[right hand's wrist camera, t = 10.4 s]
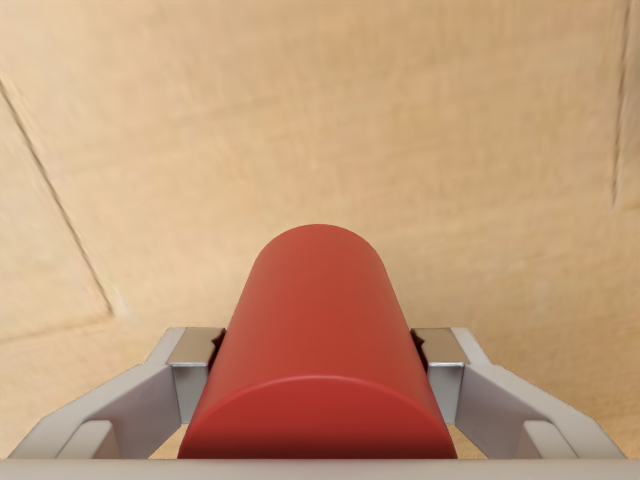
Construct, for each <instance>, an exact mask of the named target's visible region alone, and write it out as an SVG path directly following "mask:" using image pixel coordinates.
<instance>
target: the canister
mask: <svg viewBox="0 0 640 480" xmlns="http://www.w3.org/2000/svg"><path fill="white" fill-rule="evenodd" d="M177 459H458V457H457V454H456V451H455V447H454V444H453V442H452V439H451V436H450V434H449V431H448V429H447V426H446V424H445V421H444V418H443V416H442V413H441V411H440V408H439V406H438V403H437V400H436V398H435V395H434V393H433V390H432V388H431V385H430V382H429V380H428V377H427V375H426V372H425V370H424V367H423V364H422V362H421V359H420V357H419V354H418V352H417V349H416V346H415V344H414V341H413V339H412V336H411V334H410V331H409V329H408V326H407V323H406V321H405V318H404V316H403V313H402V311H401V308H400V305H399V303H398V300H397V298H396V295H395V293H394V290H393V287H392V285H391V282H390V280H389V277H388V275H387V272H386V269H385V267H384V264H383V262H382V260H381V258H380V257H379V255H378V254H377V252H376V251H375V250H374V248H373V247H372V246H371V245H370V244H369V243H368V242H367V241H365V240H364V239H363V238H362V237H360V236H358V235H357V234H355V233H353V232H351V231H349V230H347V229H344V228H341V227H337V226H332V225H326V224H312V225H304V226H300V227H296V228H293V229H290V230H288V231H286V232H284V233H282V234H280V235H279V236H277V237H276V238H274V239H273V240H272V241H271V242H269V243H268V244H267V245H266V246H265V247H264V249H263V250H262V251H261V252H260V254H259V255H258V257H257V258H256V260H255V263H254V265H253V267H252V270H251V272H250V275H249V277H248V279H247V282H246V284H245V287H244V289H243V292H242V294H241V297H240V299H239V302H238V304H237V307H236V309H235V312H234V314H233V317H232V319H231V322H230V324H229V327H228V329H227V332H226V334H225V337H224V339H223V341H222V344H221V346H220V349H219V351H218V354H217V356H216V359H215V361H214V364H213V366H212V369H211V371H210V374H209V376H208V379H207V381H206V384H205V386H204V389H203V391H202V394H201V396H200V399H199V401H198V403H197V406H196V408H195V411H194V413H193V416H192V418H191V421H190V423H189V426H188V428H187V431H186V433H185V436H184V438H183V441H182V443H181V446H180V448H179V452H178V456H177Z"/></svg>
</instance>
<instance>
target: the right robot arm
mask: <svg viewBox="0 0 640 480" xmlns="http://www.w3.org/2000/svg"><path fill="white" fill-rule="evenodd" d="M226 332H227V331H226V329H225V328H204V327H189V328H188V327H171V328H168V329H167V330H166V332H165V333H164V335H163V336H162V338H161V339H160V341H159V342H158V344H157V345H156V347H155V348H154V350H153V351H152V353H151V354H150V356H149V357H148V358H147V360H146V361H145V363H144V364H138V365H136V366H134V367H132V368H131V369H129V370H127V371H125V372H123V373H122V374H120V375H118V376H116V377H115V378H113V379H111V380H109V381H107V382H106V383H104V384H102V385H100V386H99V387H97V388H95V389H93V390H91V391H90V392H88V393H86V394H84V395H83V396H81V397H79V398H77V399H76V400H74V401H72V402H70V403H68V404H67V405H65V406H63V407H61V408H60V409H58V410H56V411H54V412H52V413H51V414H49V415H47V416H45V417H44V418H42V419H41V420H40V421H39V422H38V423H37V424H36V425H35V427H34V428H33V429H32V430H31V431H30V432H29V433H28V435H27V436H26V437H25V438H24V439H23V440H22V441H21V443H20V444H19V445H18V446H17V447H16V448H15V449H14V450H13V452H12V453H11V454H10V455H9V456H8V457H7V458H6V459H0V480H640V459H628V458H627V457H626V456H625V454H624V453H623V452H622V451H621V450H620V449H619V447H618V446H617V445H616V444H615V443H614V442H613V440H612V439H611V438H610V437H609V436H608V435H607V433H606V432H605V431H604V430H603V429H602V428H601V426H600V425H599V424H598V423H597V422H596V421H595V419H593V418H591V417H590V416H588V415H586V414H584V413H583V412H581V411H579V410H577V409H576V408H574V407H572V406H570V405H569V404H567V403H565V402H563V401H561V400H560V399H558V398H556V397H554V396H553V395H551V394H549V393H547V392H546V391H544V390H542V389H540V388H539V387H537V386H535V385H533V384H532V383H530V382H528V381H526V380H525V379H523V378H521V377H519V376H518V375H516V374H514V373H512V372H511V371H509V370H507V369H505V368H504V367H502V366H500V365H498V364H492V363H491V361H490V360H489V358H488V357H487V355H486V354H485V352H484V351H483V349H482V348H481V346H480V345H479V343H478V342H477V340H476V339H475V337H474V336H473V334H472V333H471V331H470V330H469V329H468V328H467V327H448V328H411V331H410V334H411V336H412V339H413V341H414V344H415V346H416V349H417V352H418V354H419V357H420V359H421V362H422V364H423V367H424V370H425V372H426V375H427V377H428V380H429V382H430V385H431V388H432V390H433V393H434V395H435V398H436V400H437V403H438V406H439V408H440V411H441V413H442V416H443V418H444V421H445V424H455V426H456V427H457V428H458V429H459V430H460V431H461V432H462V433H463V434H464V435H465V436H466V437H467V438H468V439H469V440H470V441H471V442H472V443H473V444H474V445H475V446H476V447H477V448H478V449H479V450H481V451H482V452H483V453H484V454H485V455H486V456H487V457H488V458H489V459H147V458H148V457H149V456H150V455H152V454H153V453H154V452H155V451H156V450H157V449H158V448H159V447H160V446H161V445H162V444H163V443H164V442H165V441H166V440H167V439H168V438H169V437H170V436H171V435H172V434H173V433H174V432H176V431H177V430H178V429H179V428H180V427H181V424H189V423H190V421H191V418H192V416H193V413H194V411H195V408H196V406H197V403H198V401H199V399H200V396H201V394H202V391H203V389H204V386H205V384H206V381H207V379H208V376H209V374H210V371H211V369H212V366H213V364H214V361H215V359H216V356H217V354H218V351H219V349H220V346H221V344H222V341H223V339H224V337H225V334H226Z"/></svg>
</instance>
